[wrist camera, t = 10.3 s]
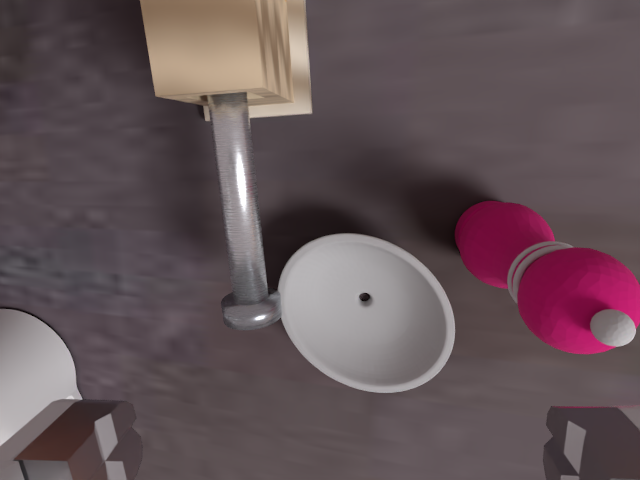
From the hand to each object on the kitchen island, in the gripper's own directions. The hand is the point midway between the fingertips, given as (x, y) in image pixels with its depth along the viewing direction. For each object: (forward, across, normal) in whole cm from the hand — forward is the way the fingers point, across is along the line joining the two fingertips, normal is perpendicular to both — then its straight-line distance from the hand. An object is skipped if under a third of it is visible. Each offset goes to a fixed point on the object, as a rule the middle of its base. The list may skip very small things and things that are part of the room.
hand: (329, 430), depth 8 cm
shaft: (+24, +8, -4) cm, 26 cm away
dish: (+31, -1, +11) cm, 33 cm away
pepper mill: (+31, -13, +4) cm, 34 cm away
